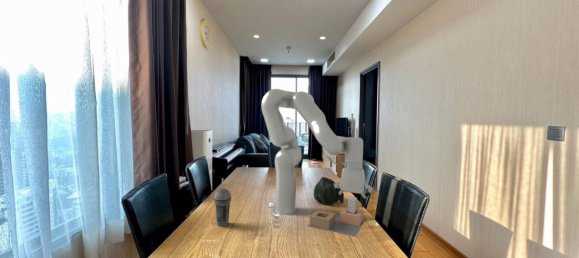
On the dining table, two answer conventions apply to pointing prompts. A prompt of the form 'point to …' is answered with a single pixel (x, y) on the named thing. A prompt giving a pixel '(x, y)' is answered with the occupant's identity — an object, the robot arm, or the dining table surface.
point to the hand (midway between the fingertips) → (352, 204)
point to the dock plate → (338, 221)
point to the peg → (352, 205)
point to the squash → (326, 192)
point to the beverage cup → (222, 206)
